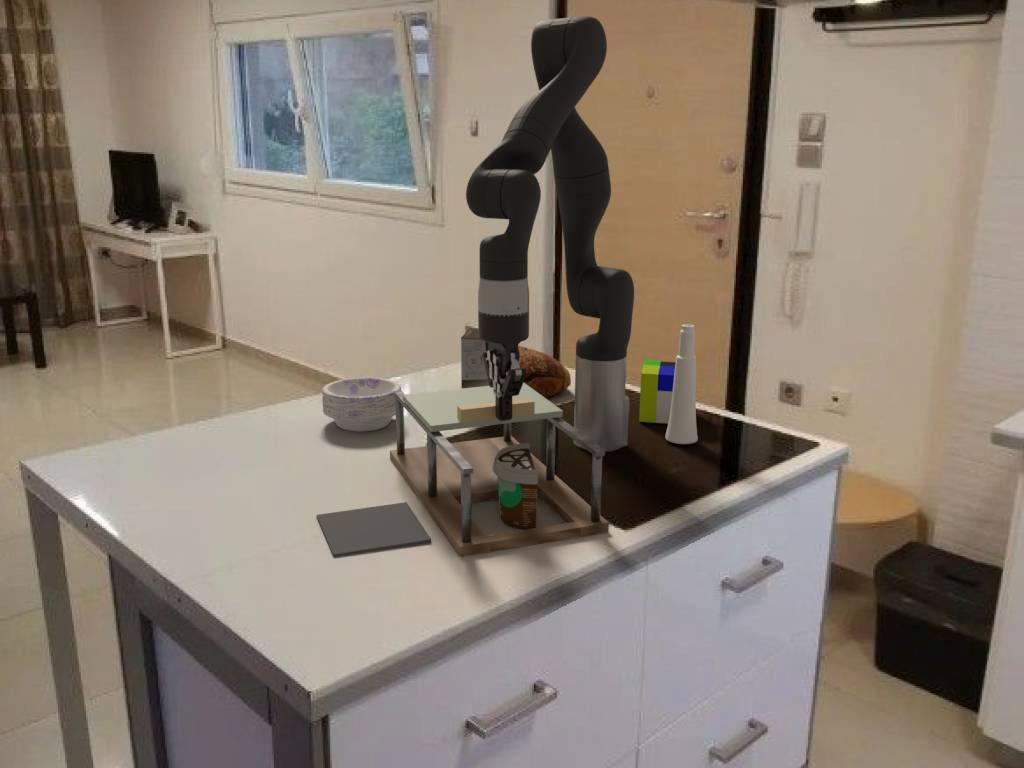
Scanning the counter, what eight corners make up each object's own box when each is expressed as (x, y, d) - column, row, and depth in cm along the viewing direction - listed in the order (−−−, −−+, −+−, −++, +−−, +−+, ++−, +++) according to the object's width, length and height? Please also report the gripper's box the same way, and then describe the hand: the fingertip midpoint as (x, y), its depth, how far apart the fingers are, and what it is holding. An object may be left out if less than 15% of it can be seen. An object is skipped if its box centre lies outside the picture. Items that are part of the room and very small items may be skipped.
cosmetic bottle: (704, 440, 177) (712, 326, 171) (681, 446, 174) (688, 330, 168) (681, 431, 182) (688, 320, 176) (658, 437, 179) (664, 324, 172)
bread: (473, 380, 216) (472, 338, 213) (546, 373, 222) (547, 332, 219) (502, 406, 197) (503, 360, 195) (582, 398, 204) (583, 353, 201)
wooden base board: (511, 443, 175) (511, 435, 175) (608, 531, 139) (608, 522, 138) (390, 458, 167) (389, 450, 167) (459, 556, 131) (459, 546, 130)
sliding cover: (523, 387, 164) (523, 371, 163) (562, 416, 149) (562, 398, 148) (402, 400, 157) (402, 383, 156) (431, 432, 142) (430, 413, 141)
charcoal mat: (406, 505, 148) (406, 502, 147) (431, 542, 135) (431, 539, 135) (316, 518, 143) (316, 514, 143) (333, 558, 130) (333, 554, 130)
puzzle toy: (689, 425, 186) (692, 376, 183) (639, 421, 188) (641, 373, 185) (690, 409, 195) (693, 363, 193) (642, 406, 197) (644, 360, 195)
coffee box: (492, 416, 191) (492, 338, 186) (460, 414, 191) (460, 337, 187) (498, 402, 199) (499, 328, 195) (469, 401, 200) (468, 327, 196)
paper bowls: (383, 408, 195) (382, 371, 193) (415, 429, 183) (414, 390, 180) (312, 420, 187) (310, 382, 185) (340, 443, 175) (338, 402, 173)
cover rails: (509, 437, 173) (509, 379, 170) (602, 522, 139) (605, 450, 135) (395, 451, 166) (393, 391, 163) (464, 544, 131) (463, 469, 128)
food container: (490, 502, 149) (489, 442, 146) (528, 501, 150) (529, 441, 147) (495, 536, 137) (495, 472, 134) (537, 535, 138) (538, 471, 135)
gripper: (544, 314, 134) (543, 429, 139) (511, 297, 146) (511, 404, 151) (495, 318, 131) (495, 435, 136) (465, 301, 143) (466, 409, 148)
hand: (503, 418), depth 144 cm, fingers closed
